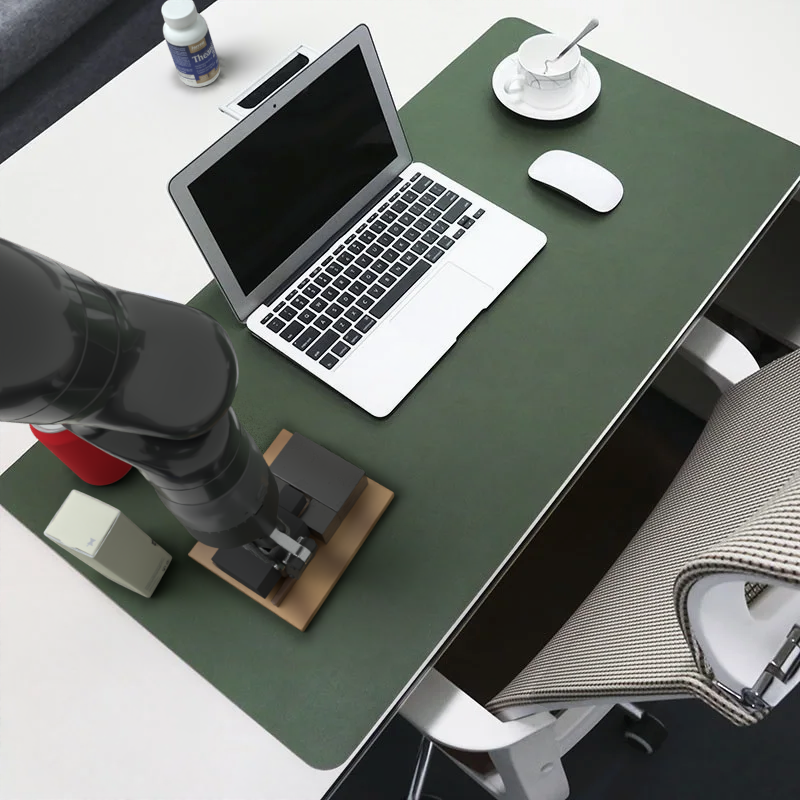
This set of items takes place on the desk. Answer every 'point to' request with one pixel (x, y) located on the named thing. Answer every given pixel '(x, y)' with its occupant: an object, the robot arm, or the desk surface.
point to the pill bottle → (190, 43)
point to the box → (108, 543)
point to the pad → (245, 563)
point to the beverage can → (81, 455)
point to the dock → (323, 559)
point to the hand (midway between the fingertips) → (264, 550)
